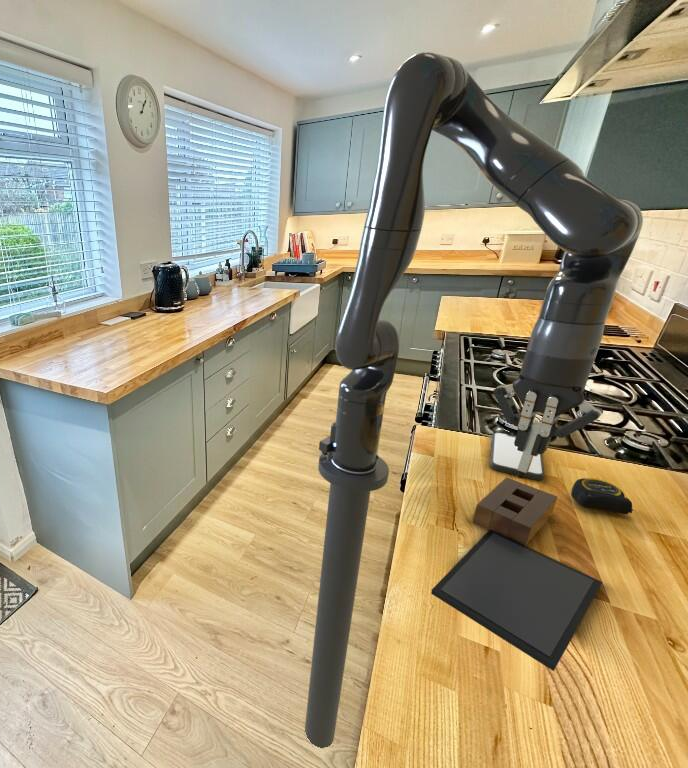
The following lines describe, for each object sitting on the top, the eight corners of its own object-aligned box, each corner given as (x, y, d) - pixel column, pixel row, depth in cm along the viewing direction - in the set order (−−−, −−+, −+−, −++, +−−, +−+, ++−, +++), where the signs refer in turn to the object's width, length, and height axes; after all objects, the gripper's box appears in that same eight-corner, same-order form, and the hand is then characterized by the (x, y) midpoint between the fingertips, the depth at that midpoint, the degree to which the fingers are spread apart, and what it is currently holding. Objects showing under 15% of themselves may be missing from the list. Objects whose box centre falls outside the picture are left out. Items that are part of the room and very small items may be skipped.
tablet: (430, 593, 60) (431, 588, 60) (488, 533, 71) (490, 528, 70) (553, 671, 49) (556, 666, 49) (600, 586, 60) (603, 581, 60)
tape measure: (577, 511, 74) (584, 494, 73) (563, 489, 80) (569, 473, 79) (628, 521, 72) (636, 503, 70) (610, 497, 77) (617, 480, 76)
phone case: (543, 483, 83) (539, 446, 94) (545, 476, 82) (541, 440, 94) (488, 470, 88) (491, 436, 99) (490, 463, 87) (492, 430, 99)
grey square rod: (514, 477, 69) (532, 422, 65) (517, 475, 69) (535, 420, 66) (523, 480, 68) (542, 425, 64) (525, 478, 69) (544, 423, 65)
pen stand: (472, 522, 73) (476, 504, 72) (501, 494, 80) (506, 476, 78) (524, 547, 67) (531, 528, 66) (551, 514, 74) (558, 496, 72)
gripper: (633, 354, 57) (591, 461, 64) (514, 335, 67) (489, 429, 74) (619, 366, 53) (576, 480, 60) (496, 344, 63) (470, 443, 70)
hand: (528, 451), depth 67 cm, fingers closed on grey square rod, 1 cm apart
